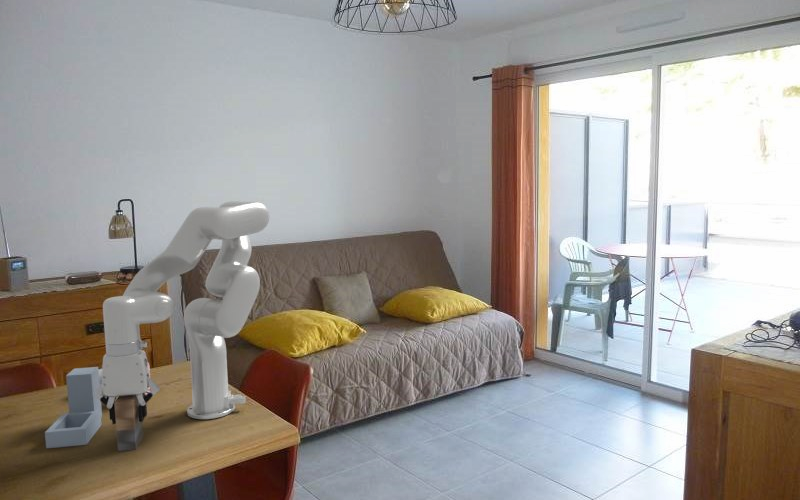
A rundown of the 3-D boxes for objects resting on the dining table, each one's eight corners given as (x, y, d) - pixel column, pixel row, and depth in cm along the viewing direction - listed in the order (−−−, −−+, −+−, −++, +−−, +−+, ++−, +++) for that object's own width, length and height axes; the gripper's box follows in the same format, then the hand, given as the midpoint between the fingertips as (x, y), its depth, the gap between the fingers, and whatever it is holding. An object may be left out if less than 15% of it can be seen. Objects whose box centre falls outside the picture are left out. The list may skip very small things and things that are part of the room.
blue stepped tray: (108, 416, 162) (104, 366, 160) (86, 444, 144) (82, 389, 143) (72, 419, 160) (67, 368, 158) (46, 448, 143) (41, 392, 141)
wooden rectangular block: (142, 437, 148) (139, 390, 147) (135, 449, 141) (132, 400, 140) (125, 438, 147) (122, 392, 146) (117, 451, 140) (114, 402, 139)
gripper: (164, 341, 147) (169, 411, 149) (89, 346, 143) (95, 418, 146) (158, 349, 139) (163, 423, 142) (79, 355, 136) (85, 430, 138)
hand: (128, 420), depth 144 cm, fingers open, 5 cm apart
